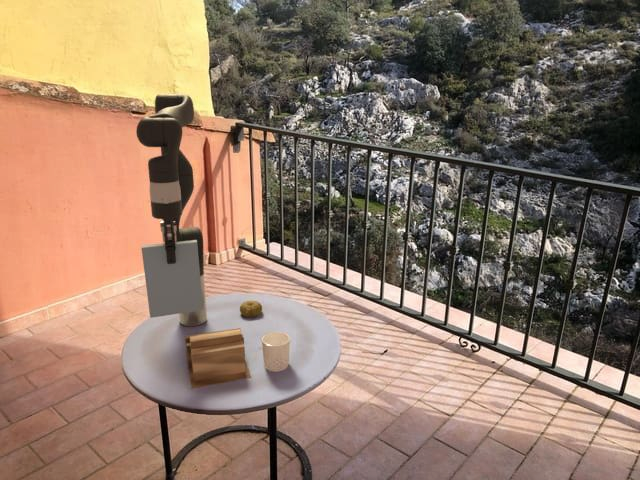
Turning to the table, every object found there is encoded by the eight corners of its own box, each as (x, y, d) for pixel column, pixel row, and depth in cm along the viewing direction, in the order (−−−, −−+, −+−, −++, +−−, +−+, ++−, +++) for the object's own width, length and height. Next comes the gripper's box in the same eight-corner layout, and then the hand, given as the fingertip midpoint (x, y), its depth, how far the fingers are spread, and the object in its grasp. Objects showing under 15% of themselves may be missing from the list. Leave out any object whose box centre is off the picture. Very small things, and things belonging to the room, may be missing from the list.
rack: (187, 361, 141) (185, 336, 139) (241, 352, 146) (240, 328, 144) (191, 393, 127) (189, 365, 124) (251, 382, 132) (250, 355, 129)
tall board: (150, 314, 131) (141, 245, 125) (202, 307, 135) (196, 239, 129) (150, 317, 129) (141, 247, 123) (203, 310, 133) (197, 242, 127)
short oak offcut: (193, 374, 132) (191, 349, 130) (243, 366, 137) (242, 341, 134) (194, 380, 129) (192, 354, 127) (245, 371, 134) (244, 346, 131)
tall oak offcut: (192, 368, 135) (189, 336, 132) (241, 359, 140) (240, 329, 137) (193, 373, 133) (190, 341, 130) (243, 365, 137) (241, 334, 134)
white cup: (279, 380, 133) (278, 348, 130) (257, 371, 137) (256, 340, 134) (295, 367, 139) (295, 336, 136) (273, 359, 143) (273, 329, 140)
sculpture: (266, 302, 172) (251, 310, 165) (266, 312, 173) (251, 321, 167) (250, 297, 176) (234, 304, 170) (250, 306, 177) (235, 314, 171)
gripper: (150, 193, 127) (156, 254, 132) (150, 205, 115) (157, 272, 120) (179, 191, 130) (184, 252, 135) (182, 203, 117) (188, 269, 122)
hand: (171, 261), depth 127 cm, fingers closed on tall board, 2 cm apart
